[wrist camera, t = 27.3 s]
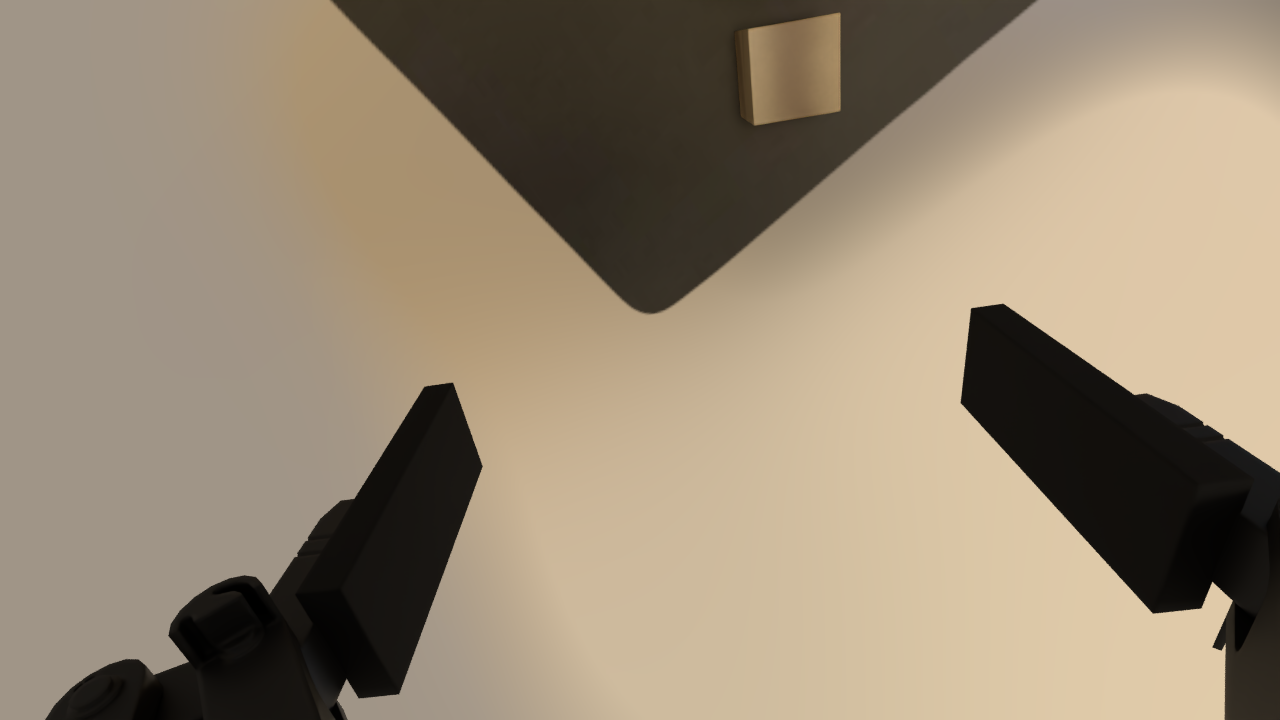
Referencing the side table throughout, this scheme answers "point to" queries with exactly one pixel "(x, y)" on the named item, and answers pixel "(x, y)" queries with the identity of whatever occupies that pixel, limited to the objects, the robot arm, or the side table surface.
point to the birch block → (789, 69)
